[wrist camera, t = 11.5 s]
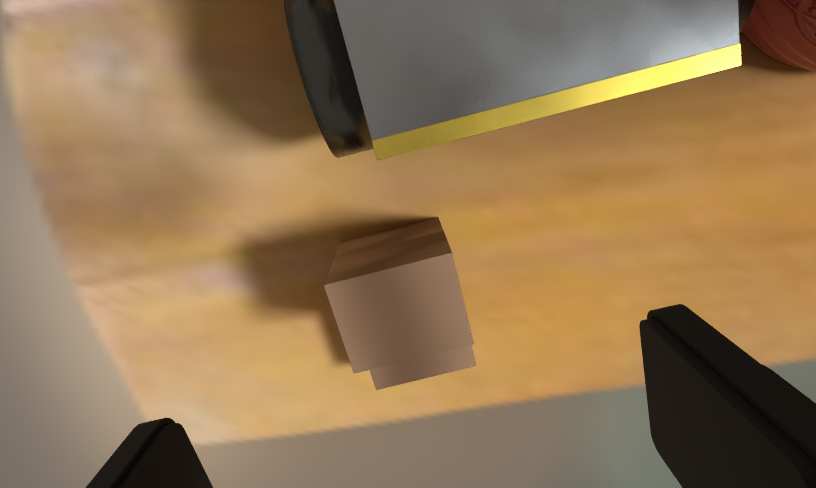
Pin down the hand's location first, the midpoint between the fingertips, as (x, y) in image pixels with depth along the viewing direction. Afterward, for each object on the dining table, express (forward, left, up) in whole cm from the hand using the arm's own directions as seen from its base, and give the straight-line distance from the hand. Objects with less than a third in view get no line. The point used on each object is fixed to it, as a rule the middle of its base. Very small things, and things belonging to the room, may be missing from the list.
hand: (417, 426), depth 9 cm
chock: (+1, +3, -14) cm, 15 cm away
